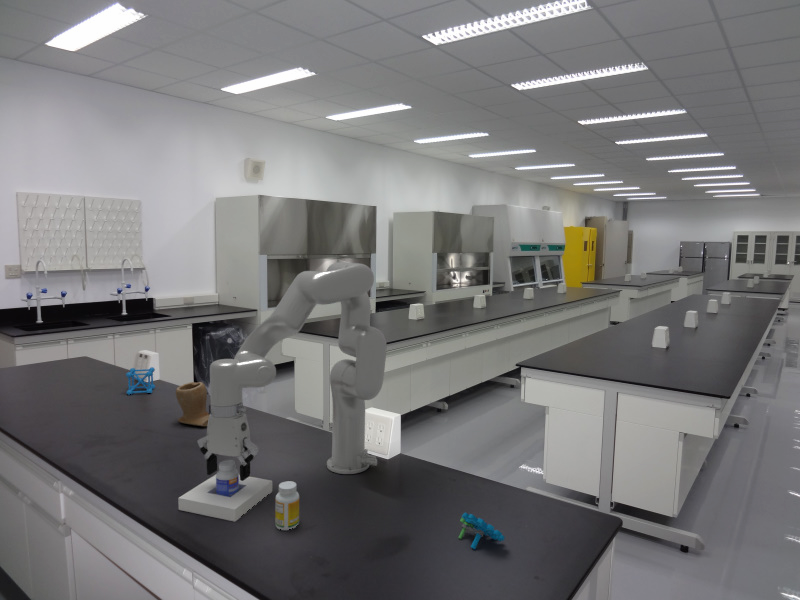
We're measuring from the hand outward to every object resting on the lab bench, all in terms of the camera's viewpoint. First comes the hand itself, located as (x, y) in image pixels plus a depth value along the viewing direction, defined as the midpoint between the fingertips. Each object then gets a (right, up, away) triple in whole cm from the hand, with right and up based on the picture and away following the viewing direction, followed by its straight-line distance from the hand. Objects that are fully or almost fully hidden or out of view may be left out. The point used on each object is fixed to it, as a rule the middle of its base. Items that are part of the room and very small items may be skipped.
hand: (228, 475), depth 129 cm
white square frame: (0, -6, 0) cm, 6 cm away
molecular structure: (-70, +4, +95) cm, 118 cm away
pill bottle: (0, -7, +1) cm, 7 cm away
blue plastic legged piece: (+61, -10, -16) cm, 64 cm away
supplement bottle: (+17, -8, -10) cm, 22 cm away
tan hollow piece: (-30, -1, +56) cm, 63 cm away
